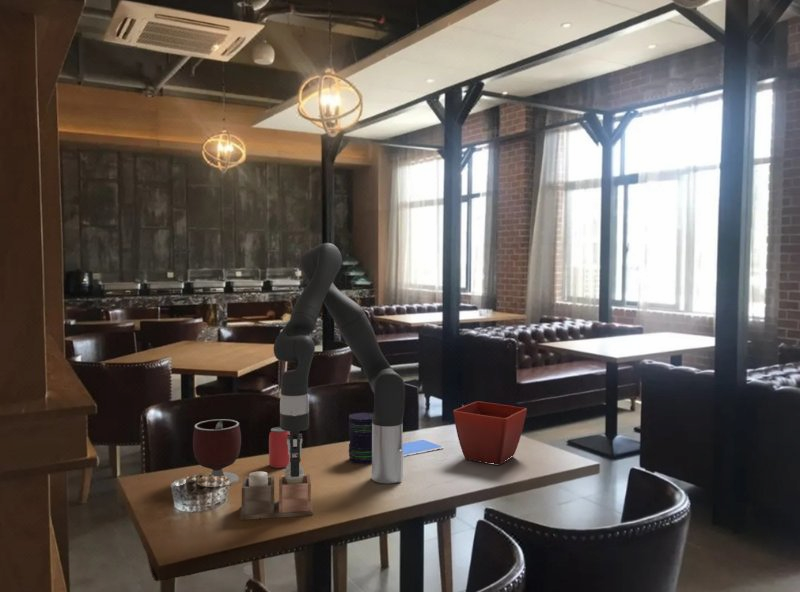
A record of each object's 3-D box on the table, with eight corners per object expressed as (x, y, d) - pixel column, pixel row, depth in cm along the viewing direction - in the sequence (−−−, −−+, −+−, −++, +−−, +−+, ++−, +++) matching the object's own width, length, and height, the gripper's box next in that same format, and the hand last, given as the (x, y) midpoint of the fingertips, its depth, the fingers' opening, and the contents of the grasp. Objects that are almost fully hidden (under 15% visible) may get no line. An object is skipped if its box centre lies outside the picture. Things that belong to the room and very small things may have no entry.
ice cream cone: (285, 502, 174) (285, 447, 173) (304, 502, 174) (304, 447, 174) (284, 509, 169) (283, 453, 168) (303, 509, 169) (303, 452, 169)
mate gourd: (190, 476, 198) (190, 411, 197) (237, 471, 203) (236, 408, 203) (196, 493, 184) (195, 423, 183) (245, 486, 189) (245, 419, 188)
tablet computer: (399, 459, 219) (399, 455, 218) (379, 450, 229) (379, 447, 229) (444, 450, 229) (444, 446, 229) (423, 442, 240) (423, 438, 240)
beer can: (265, 467, 207) (264, 430, 207) (276, 461, 213) (276, 425, 213) (282, 470, 205) (282, 432, 204) (293, 464, 211) (293, 427, 210)
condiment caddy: (311, 502, 177) (311, 466, 177) (312, 515, 168) (312, 477, 168) (241, 506, 174) (241, 469, 173) (239, 519, 165) (239, 481, 164)
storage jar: (367, 466, 209) (367, 420, 208) (342, 461, 214) (342, 416, 213) (384, 458, 217) (384, 414, 217) (360, 454, 222) (360, 411, 222)
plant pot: (527, 456, 222) (528, 407, 221) (504, 471, 205) (505, 418, 205) (476, 447, 232) (477, 400, 231) (451, 460, 216) (451, 410, 215)
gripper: (280, 405, 177) (280, 463, 178) (279, 417, 163) (280, 481, 164) (307, 404, 178) (307, 462, 179) (310, 416, 164) (310, 479, 165)
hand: (294, 471), depth 171 cm, fingers open, 8 cm apart
